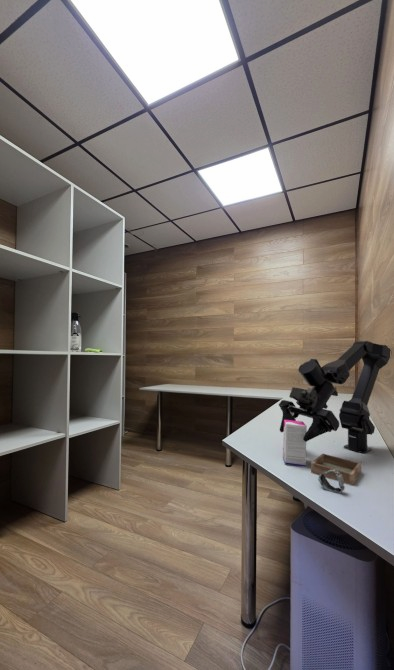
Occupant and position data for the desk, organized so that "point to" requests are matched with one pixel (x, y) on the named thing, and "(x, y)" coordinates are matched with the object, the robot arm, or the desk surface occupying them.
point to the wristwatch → (327, 485)
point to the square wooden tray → (336, 468)
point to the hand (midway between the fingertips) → (291, 435)
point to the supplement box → (294, 443)
